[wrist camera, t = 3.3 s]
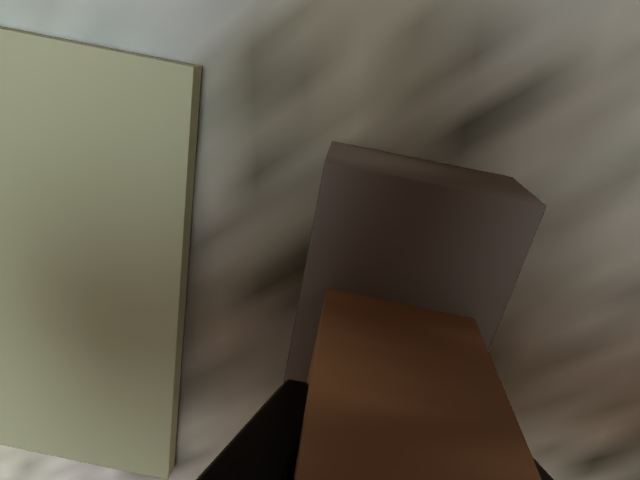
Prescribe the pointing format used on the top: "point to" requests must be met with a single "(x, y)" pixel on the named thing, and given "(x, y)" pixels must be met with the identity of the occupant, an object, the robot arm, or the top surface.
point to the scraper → (409, 321)
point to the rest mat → (94, 249)
